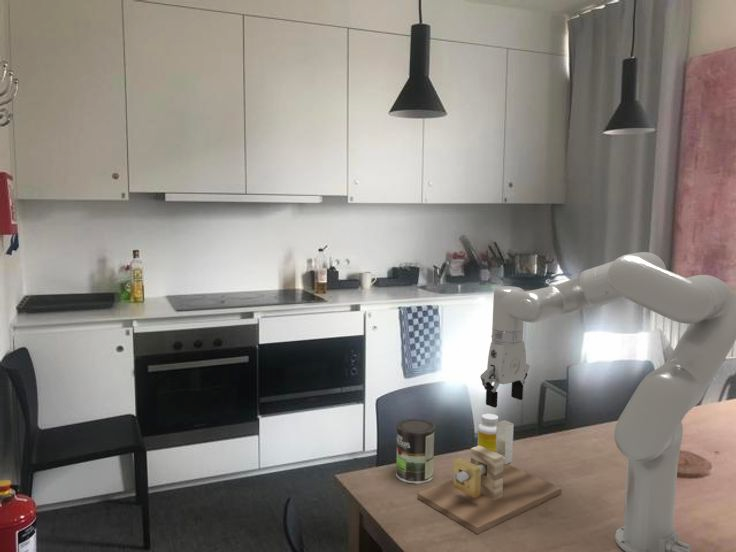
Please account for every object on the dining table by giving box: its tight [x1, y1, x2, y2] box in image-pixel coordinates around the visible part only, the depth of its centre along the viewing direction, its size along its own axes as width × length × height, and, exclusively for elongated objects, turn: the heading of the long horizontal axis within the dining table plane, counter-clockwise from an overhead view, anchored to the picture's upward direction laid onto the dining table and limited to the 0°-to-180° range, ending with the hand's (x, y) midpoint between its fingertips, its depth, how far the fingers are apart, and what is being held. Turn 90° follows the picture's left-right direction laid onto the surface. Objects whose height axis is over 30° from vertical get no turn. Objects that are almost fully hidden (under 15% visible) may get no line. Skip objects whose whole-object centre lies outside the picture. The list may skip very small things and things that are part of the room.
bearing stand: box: [416, 445, 562, 535], centre depth 148 cm, size 20×31×12 cm, turn 127°
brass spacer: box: [453, 457, 481, 498], centre depth 143 cm, size 7×2×7 cm, turn 37°
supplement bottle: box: [477, 413, 499, 452], centre depth 169 cm, size 7×7×13 cm
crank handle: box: [455, 419, 515, 484], centre depth 146 cm, size 18×3×11 cm, turn 127°
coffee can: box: [395, 418, 436, 485], centre depth 159 cm, size 10×10×14 cm
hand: (504, 402), depth 149 cm, fingers open, 9 cm apart
